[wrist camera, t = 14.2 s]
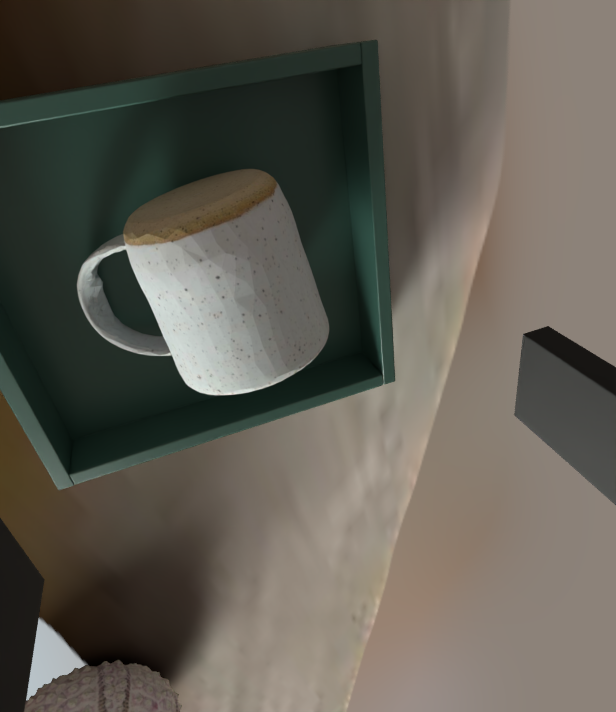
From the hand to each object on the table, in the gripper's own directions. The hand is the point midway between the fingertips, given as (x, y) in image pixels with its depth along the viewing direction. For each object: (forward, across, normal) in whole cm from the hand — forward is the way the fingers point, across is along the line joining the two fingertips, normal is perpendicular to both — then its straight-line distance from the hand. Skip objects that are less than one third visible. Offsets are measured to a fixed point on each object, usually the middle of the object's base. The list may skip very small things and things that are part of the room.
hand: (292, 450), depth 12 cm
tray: (+17, -1, -1) cm, 17 cm away
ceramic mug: (+16, -1, -1) cm, 16 cm away
